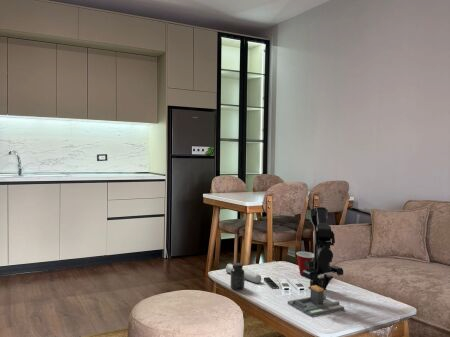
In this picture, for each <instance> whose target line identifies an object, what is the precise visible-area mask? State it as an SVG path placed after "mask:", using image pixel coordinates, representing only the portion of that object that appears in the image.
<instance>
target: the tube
mask: <svg viewBox="0 0 450 337" xmlns="http://www.w3.org/2000/svg"><path fill="white" fill-rule="evenodd" d="M232 269H233V264H232V263H227V265H226V266H225V272H226V273H227V274H231V270H232ZM242 269H243V270H244V280H246V281H249V282H251V283H255V284H259V283H261V282H262V276H261V275H260V274H259V273H256V272H254V271H251V270H250V269H249V270H247V269H245V268H242Z"/></svg>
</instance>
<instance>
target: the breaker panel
mask: <svg viewBox="0 0 450 337" xmlns="http://www.w3.org/2000/svg"><path fill="white" fill-rule="evenodd" d="M340 303H341V302H340V301H339V300H336V301H335V300H334V301H332V300H330V299H328V298H326V294H324V295H323V304H319V305H316V304H314V303H312V302H310V296H309V297H304V298H297V299H292V300H288V301H287V305H289V306H290V307H292V308H293V309H296V310H298V311H299V312H301V313H303V314H305V315H306V316H309V317H310V318H311V317H317V316H321V315H325V314H330V313H331V314H332V313H336V312H341V311H345V306H343V305H341V304H340Z"/></svg>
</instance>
